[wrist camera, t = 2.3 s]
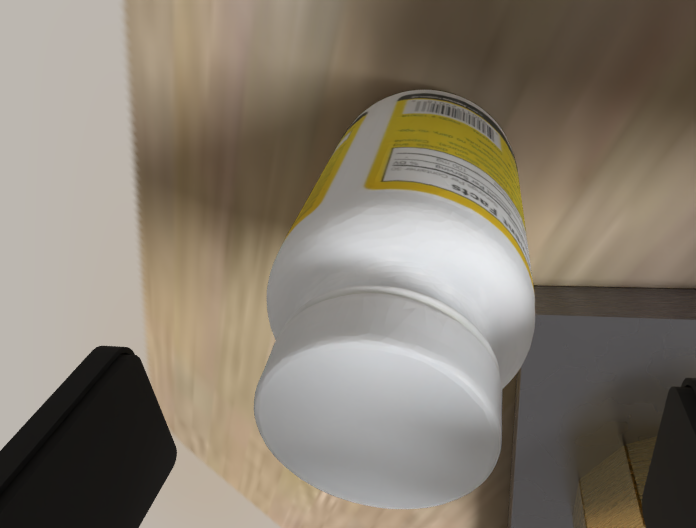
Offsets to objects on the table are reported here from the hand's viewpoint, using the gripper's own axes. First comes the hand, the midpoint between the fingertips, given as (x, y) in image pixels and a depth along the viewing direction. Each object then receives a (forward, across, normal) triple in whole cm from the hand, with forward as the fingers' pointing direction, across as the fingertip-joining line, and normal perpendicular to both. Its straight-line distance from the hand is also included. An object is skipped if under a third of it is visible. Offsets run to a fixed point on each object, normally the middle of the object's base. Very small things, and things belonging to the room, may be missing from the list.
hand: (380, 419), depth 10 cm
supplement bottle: (+9, 0, -1) cm, 9 cm away
